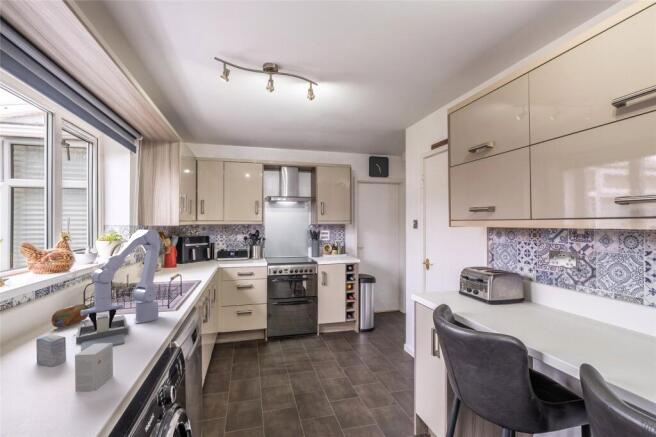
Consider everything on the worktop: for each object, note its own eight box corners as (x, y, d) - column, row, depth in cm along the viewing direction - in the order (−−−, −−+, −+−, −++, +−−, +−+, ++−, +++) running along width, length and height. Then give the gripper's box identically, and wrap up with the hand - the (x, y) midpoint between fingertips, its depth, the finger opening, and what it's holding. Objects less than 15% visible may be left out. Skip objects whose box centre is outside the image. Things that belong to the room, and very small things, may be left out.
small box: (94, 377, 90) (94, 343, 90) (113, 376, 91) (113, 342, 91) (74, 392, 82) (73, 355, 82) (95, 391, 83) (95, 354, 83)
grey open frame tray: (124, 317, 147) (123, 311, 147) (127, 333, 125) (127, 326, 125) (80, 324, 136) (80, 318, 136) (76, 343, 115) (76, 336, 115)
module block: (108, 330, 129) (108, 313, 129) (108, 334, 125) (108, 317, 125) (97, 332, 127) (97, 315, 127) (97, 336, 122) (96, 319, 122)
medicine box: (66, 361, 100) (66, 336, 101) (50, 367, 96) (50, 341, 96) (52, 358, 103) (51, 333, 103) (36, 364, 99) (35, 338, 99)
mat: (122, 335, 123) (122, 333, 123) (124, 343, 115) (123, 342, 115) (82, 343, 115) (82, 341, 115) (80, 353, 107) (80, 351, 107)
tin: (55, 330, 130) (55, 311, 130) (49, 330, 130) (49, 311, 130) (89, 319, 144) (89, 302, 144) (84, 318, 145) (84, 301, 145)
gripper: (122, 292, 133) (123, 322, 133) (81, 298, 124) (81, 330, 124) (123, 295, 128) (123, 326, 128) (80, 301, 119) (80, 335, 119)
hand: (102, 328), depth 126 cm, fingers closed on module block, 4 cm apart
